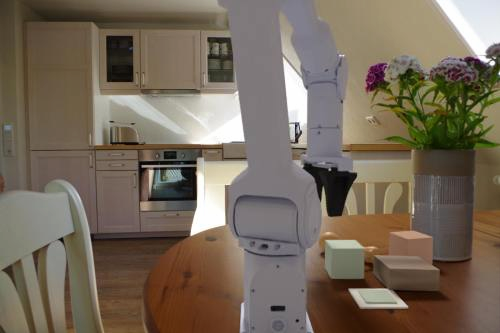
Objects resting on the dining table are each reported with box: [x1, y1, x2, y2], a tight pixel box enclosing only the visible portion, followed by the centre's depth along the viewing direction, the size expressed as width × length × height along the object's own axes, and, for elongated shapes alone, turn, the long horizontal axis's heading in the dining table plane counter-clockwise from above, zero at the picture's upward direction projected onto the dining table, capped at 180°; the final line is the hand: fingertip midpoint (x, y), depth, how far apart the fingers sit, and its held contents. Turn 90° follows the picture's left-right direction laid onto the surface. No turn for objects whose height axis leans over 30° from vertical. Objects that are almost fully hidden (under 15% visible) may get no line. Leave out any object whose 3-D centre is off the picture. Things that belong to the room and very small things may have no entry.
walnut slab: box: [372, 254, 441, 292], centre depth 58 cm, size 7×7×3 cm
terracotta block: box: [388, 230, 434, 265], centre depth 68 cm, size 5×5×5 cm
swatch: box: [348, 288, 409, 310], centre depth 52 cm, size 6×6×1 cm
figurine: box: [318, 231, 381, 265], centre depth 70 cm, size 8×6×12 cm
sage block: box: [324, 239, 365, 280], centre depth 62 cm, size 5×5×5 cm
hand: (323, 212), depth 64 cm, fingers open, 7 cm apart
